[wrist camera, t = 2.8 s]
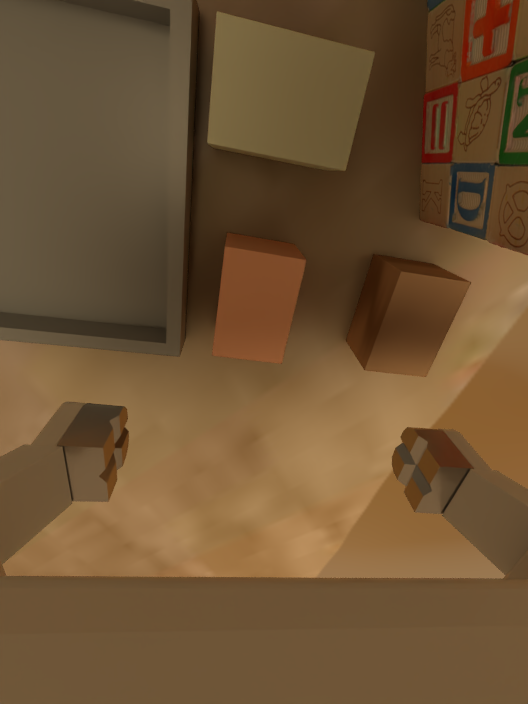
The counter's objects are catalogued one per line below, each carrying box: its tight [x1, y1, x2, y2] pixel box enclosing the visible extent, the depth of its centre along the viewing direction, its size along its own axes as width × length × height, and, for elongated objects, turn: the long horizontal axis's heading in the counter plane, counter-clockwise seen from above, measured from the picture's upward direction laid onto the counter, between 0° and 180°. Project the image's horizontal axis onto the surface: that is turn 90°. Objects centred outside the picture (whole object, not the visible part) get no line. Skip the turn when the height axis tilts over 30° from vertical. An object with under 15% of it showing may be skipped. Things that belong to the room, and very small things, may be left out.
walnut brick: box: [346, 254, 471, 377], centre depth 20 cm, size 6×4×4 cm, turn 171°
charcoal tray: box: [0, 0, 199, 357], centre depth 16 cm, size 16×14×2 cm
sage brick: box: [207, 11, 375, 171], centre depth 15 cm, size 4×6×4 cm, turn 81°
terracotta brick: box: [212, 232, 306, 364], centre depth 19 cm, size 6×4×4 cm, turn 170°
